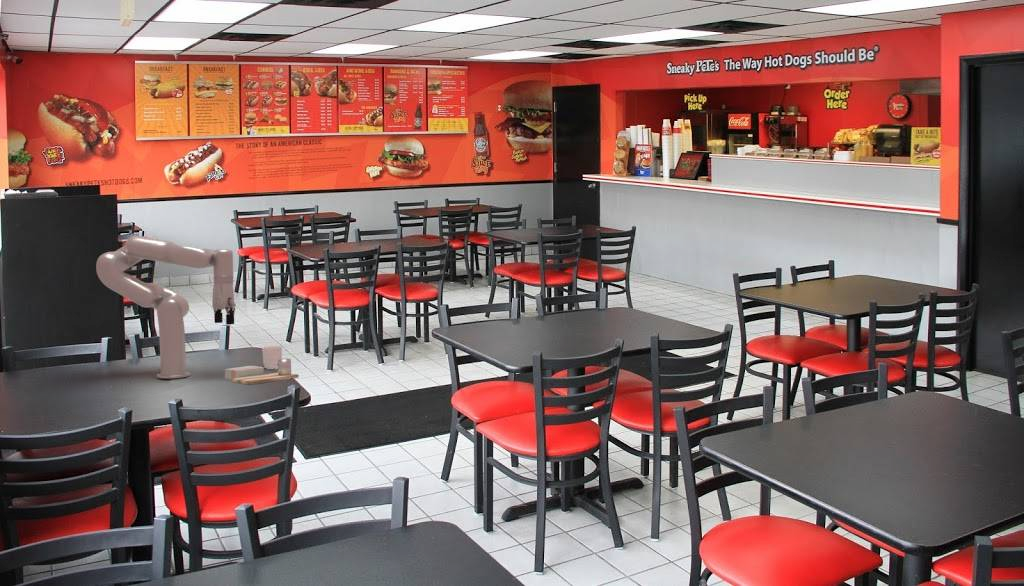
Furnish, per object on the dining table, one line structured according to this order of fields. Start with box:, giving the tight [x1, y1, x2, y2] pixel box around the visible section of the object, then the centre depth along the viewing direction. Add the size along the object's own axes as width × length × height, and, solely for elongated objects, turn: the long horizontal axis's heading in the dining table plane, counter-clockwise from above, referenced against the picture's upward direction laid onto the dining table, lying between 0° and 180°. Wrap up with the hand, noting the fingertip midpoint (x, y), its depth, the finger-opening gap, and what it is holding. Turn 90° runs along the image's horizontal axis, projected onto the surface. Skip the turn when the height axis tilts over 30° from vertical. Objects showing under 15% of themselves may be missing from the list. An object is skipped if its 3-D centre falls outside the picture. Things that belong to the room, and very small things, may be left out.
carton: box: [224, 365, 265, 381], centre depth 383 cm, size 8×12×4 cm
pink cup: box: [261, 345, 283, 370], centre depth 401 cm, size 8×8×10 cm
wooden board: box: [231, 371, 299, 386], centre depth 377 cm, size 12×22×1 cm, turn 139°
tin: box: [277, 358, 292, 376], centre depth 381 cm, size 5×5×6 cm
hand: (224, 323), depth 388 cm, fingers open, 9 cm apart
